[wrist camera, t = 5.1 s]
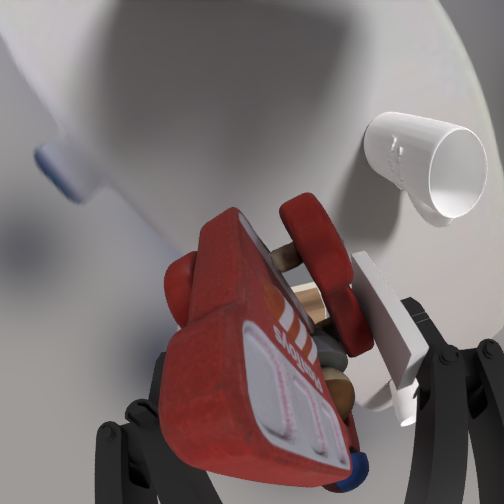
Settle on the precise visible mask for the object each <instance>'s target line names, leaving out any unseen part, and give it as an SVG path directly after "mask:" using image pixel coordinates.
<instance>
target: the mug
mask: <svg viewBox="0 0 504 504" xmlns="http://www.w3.org/2000/svg"><path fill="white" fill-rule="evenodd" d="M364 152H365V156H366V159H367V161H368V163H369V165H370V166H371V167H372V169H373V170H374V171H375V172H377V173H378V174H380V175H381V176H383V177H385V178H386V179H388V180H390V181H391V182H393V183H394V184H395V185H396V186H397V187H398V188H399V189H400V190H402V191H403V190H405V191H406V192H407V193H408V195H409V197H410V199H411V201H412V203H413V205H414V207H415V208H416V210H417V211H418V213H419V214H420V215H421V217H422V218H423V219H424V220H425V221H426V222H428V223H429V224H431V225H433V226H435V227H439V228H440V227H445V226H447V225H449V224H450V223H451V222H452V220H453V219H454V218H457V217H460V216H463V215H465V214H466V213H467V212H469V211H470V210H471V209H472V208H473V207H474V206H475V204H476V203H477V202H478V200H479V198H480V196H481V194H482V192H483V189H484V187H485V183H486V178H487V158H486V153H485V150H484V147H483V145H482V143H481V141H480V139H479V138H478V137H477V136H476V135H475V134H474V133H473V132H472V131H471V130H469V129H467V128H465V127H462V126H458V125H454V124H450V123H446V122H442V121H438V120H434V119H429V118H425V117H420V116H415V115H409V114H404V113H398V112H386V113H382V114H380V115H378V116H377V117H376V118H374V119H373V120H372V122H371V123H370V124H369V126H368V128H367V130H366V133H365V136H364Z"/></svg>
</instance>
